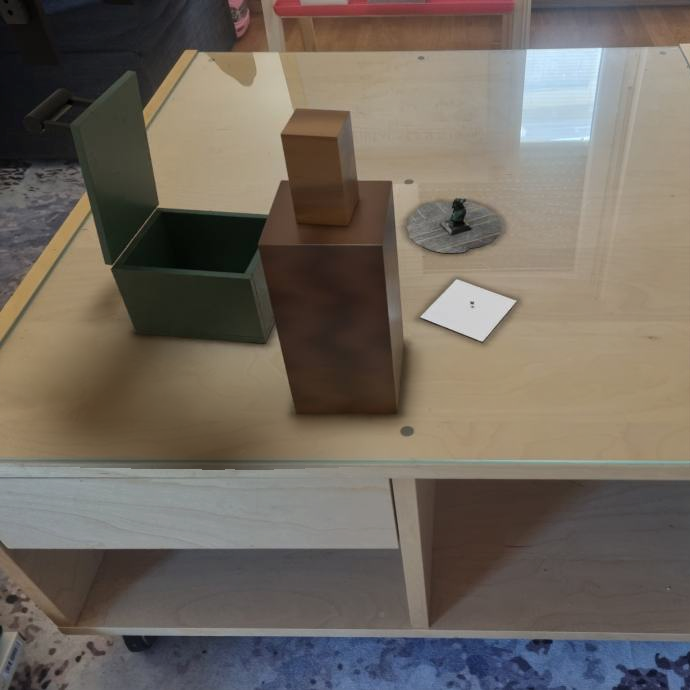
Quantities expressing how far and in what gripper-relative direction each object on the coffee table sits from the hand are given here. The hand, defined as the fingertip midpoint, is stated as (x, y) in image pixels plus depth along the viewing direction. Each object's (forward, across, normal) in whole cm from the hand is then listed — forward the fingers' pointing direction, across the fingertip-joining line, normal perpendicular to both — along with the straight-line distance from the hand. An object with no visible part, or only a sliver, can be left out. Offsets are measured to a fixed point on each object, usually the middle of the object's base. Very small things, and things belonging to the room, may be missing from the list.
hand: (85, 31), depth 62 cm
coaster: (+32, +5, -32) cm, 45 cm away
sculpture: (+32, +22, -28) cm, 48 cm away
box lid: (+15, +4, +3) cm, 16 cm away
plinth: (+32, -7, -20) cm, 38 cm away
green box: (+32, +4, -3) cm, 32 cm away
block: (+12, -7, -20) cm, 25 cm away
